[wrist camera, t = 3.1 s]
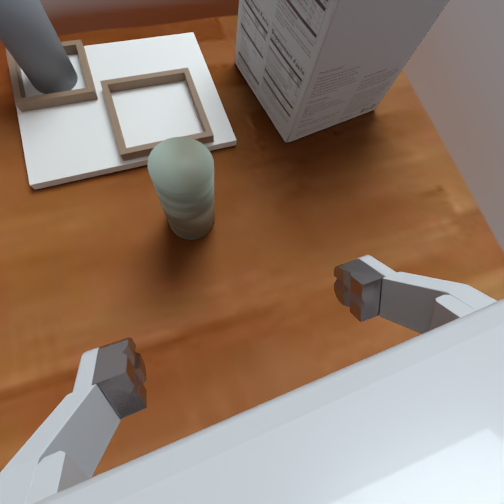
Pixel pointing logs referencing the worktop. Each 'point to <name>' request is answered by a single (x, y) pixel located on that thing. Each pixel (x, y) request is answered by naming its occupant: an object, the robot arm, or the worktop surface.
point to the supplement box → (326, 56)
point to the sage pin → (184, 185)
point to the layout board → (104, 97)
